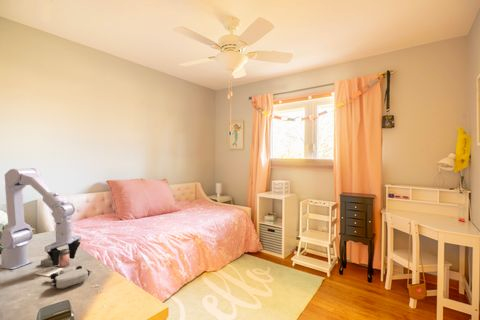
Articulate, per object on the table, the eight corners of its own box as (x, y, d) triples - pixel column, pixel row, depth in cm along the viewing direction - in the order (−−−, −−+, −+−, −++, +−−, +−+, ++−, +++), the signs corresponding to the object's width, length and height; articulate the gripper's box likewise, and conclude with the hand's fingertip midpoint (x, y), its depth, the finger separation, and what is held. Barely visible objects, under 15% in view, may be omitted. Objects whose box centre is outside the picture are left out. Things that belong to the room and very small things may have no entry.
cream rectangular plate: (34, 274, 96) (34, 273, 96) (51, 267, 102) (51, 266, 102) (48, 276, 93) (48, 275, 93) (64, 269, 99) (64, 268, 99)
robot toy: (46, 283, 90) (53, 296, 80) (46, 272, 90) (53, 282, 80) (83, 272, 99) (93, 281, 89) (83, 261, 99) (93, 269, 89)
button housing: (40, 264, 104) (40, 260, 104) (57, 258, 111) (57, 254, 111) (51, 266, 102) (51, 262, 102) (67, 260, 109) (67, 255, 109)
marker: (56, 267, 102) (56, 251, 102) (65, 263, 105) (65, 248, 105) (63, 268, 100) (62, 252, 100) (71, 264, 104) (71, 249, 104)
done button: (44, 261, 105) (44, 255, 105) (56, 257, 110) (56, 251, 110) (52, 262, 103) (52, 256, 103) (64, 258, 108) (64, 252, 108)
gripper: (52, 237, 95) (53, 270, 95) (85, 227, 109) (86, 256, 109) (40, 235, 97) (41, 268, 97) (74, 226, 111) (75, 254, 111)
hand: (64, 261), depth 103 cm, fingers open, 6 cm apart
